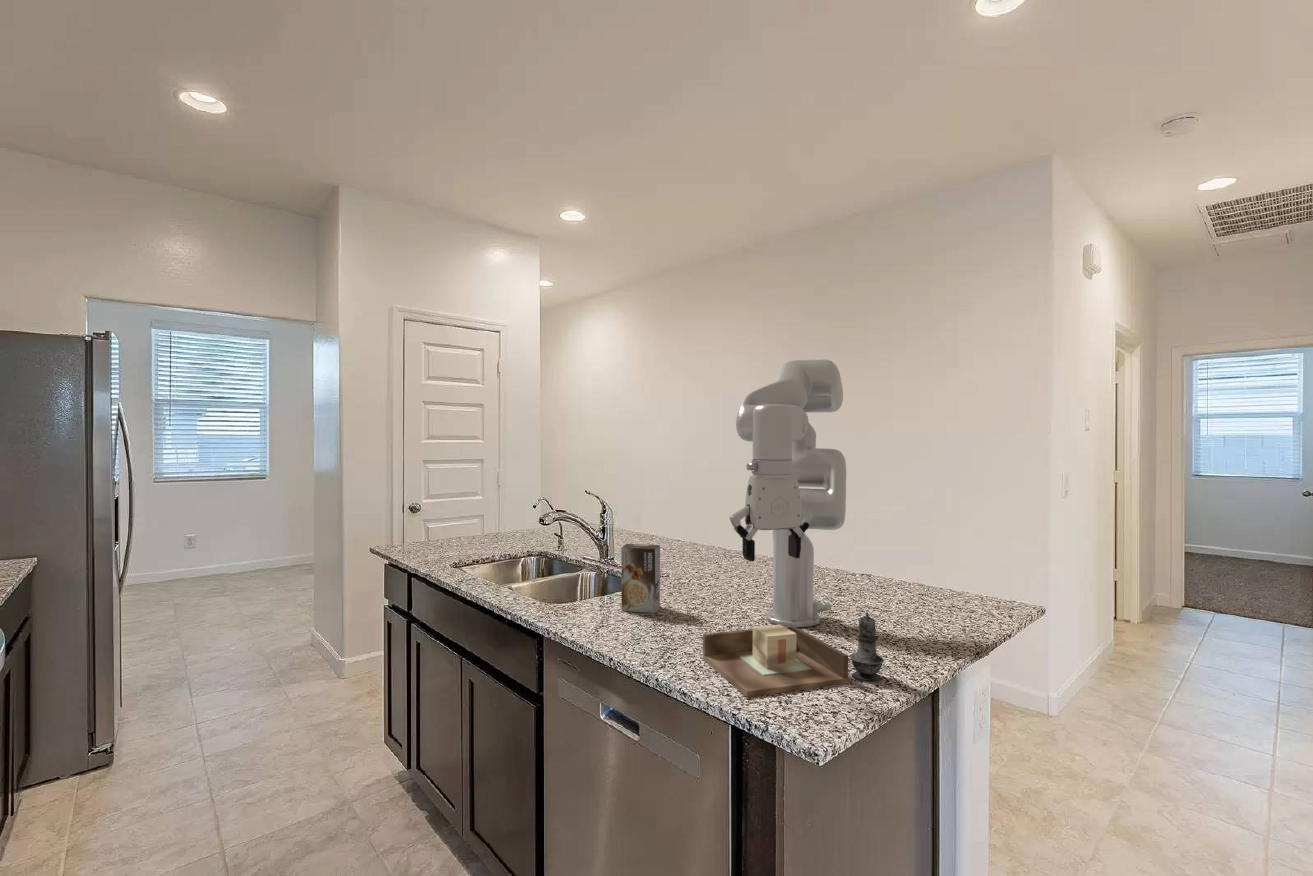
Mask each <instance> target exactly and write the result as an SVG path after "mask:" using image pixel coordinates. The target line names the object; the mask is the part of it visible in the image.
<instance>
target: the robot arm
mask: <svg viewBox="0 0 1313 876" xmlns="http://www.w3.org/2000/svg"><path fill="white" fill-rule="evenodd" d="M843 401H844V390H843V384H842V378H841V373H840V371H839V367H838V366H837V365H836V363H834V361H832V360H831V359H804V360H803V359H799V360H789V361H787V362H785V363H783V364H782V365H780V366H779V367H778V369H777V371H776V374H775V376H774V379H773V381H772V383H770V384H767V385H765V386H763V387H761V388H758V389H756V390H753V391H751V392H750V393H748V394H747V395H746V396H745V397H744V398H743V400H742V402H741V404H740V406H739V409H738V410H737V411H738V412H737V415H736V419H735V429H736V433H737V435H738V436H739V438H740V439H742V441H745V442H752V459H751V462H750V463H747V464H746V470H747V471H751V474H752V475H750V476H749V479H748V483H747V487H746V494H745V504H744V507H743V508H741V509H740V510H738V511H736V512H735V513H734V514H731V515H730V516H729V520H730V522H731V525H732V526H733V530H734V531H735V532H736V533H737V534H738V535H739V536H740V538H741V539H742V547H741V548H742V553H741V554H742V556H743V559H744V560H746V561H749V562H755V561H756V556H755V555H756V554H755V553H756V547H755V546H756V542H755V540H754V539H753V538H754V537H755V535H756V534H757V532H758V531H772V536H773V537H772V543H773V545H772V546H773V550H772V553H773V555H772V556H773V557H772V559H773V563H772V567H773V568H772V609H771V610H769V611H767V612H766V615H765V617H766V620H767V621H768V622H770V623H772V624H773V625H782V626H790V625H793V626H795V627H797V628H807V627H814V626H817V625H818V624H820V622H821V617H820V615H819V613H820V612H828V611H829V612H830V611H832V604H831V603H830V602H822V603H821V602H820V601H816V600H814V595H815V593H814V591H815V590H814V588H815V587H814V585H815V582H814V581H815V580H814V574H815V572H814V571H815V569H814V568H815V567H814V565H815V562H814V561H815V560H814V559H815V558H814V556H815V549H814V546H813V543H812V541H811V539H810V538H809V537H808V535H807V534H806V531H807V530H822V531H823V530H824V531H825V530H826V531H827V530H828V531H835V530H840V529H841V528H842V527H843V525H844V524H845V519H846V508H847V501H846V500H847V463H846V458H845V455H844V454H843V452H842V451H840V450H838V449H835V448H819V447H818V448H817V447H816V446H817V432H816V430H815V428H814V427H813V426H812V425H811V423H810V421H809V416H808V414H807V413H835V412H837V411H839V409H840V408H841V407H842V405H843ZM801 487H802V488H801ZM822 488H823V489H822ZM742 519H744V523H745V526H743V525H742V523H741V520H742Z"/></svg>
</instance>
